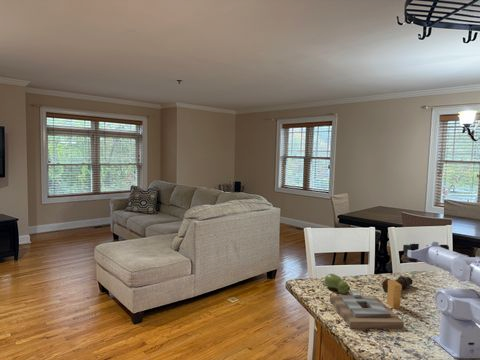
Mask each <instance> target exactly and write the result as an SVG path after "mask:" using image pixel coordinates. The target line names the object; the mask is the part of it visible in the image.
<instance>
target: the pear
mask: <svg viewBox="0 0 480 360" xmlns="http://www.w3.org/2000/svg"><path fill="white" fill-rule="evenodd" d="M324 284H325V286H326V287H328V288H329V289H336V291H337V292H338V293H340V294H341V295H346V294H348V293H350V290H351V286H350V285H349V284H348V283H347V282H346V281H344V280H343V279H342V278H341V277H340V276H338V275H336V274H334V273H328V274H326V276H325V277H324Z"/></svg>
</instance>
